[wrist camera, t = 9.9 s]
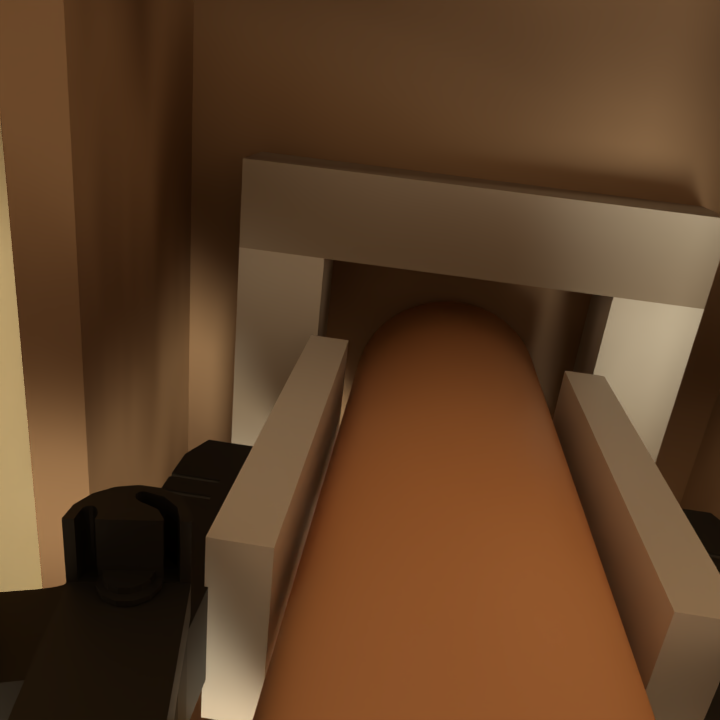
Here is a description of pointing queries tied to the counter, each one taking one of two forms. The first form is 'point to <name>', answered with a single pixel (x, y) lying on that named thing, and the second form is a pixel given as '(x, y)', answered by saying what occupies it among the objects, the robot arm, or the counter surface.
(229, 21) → the crate
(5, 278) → the counter surface
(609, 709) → the peg
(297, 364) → the robot arm
